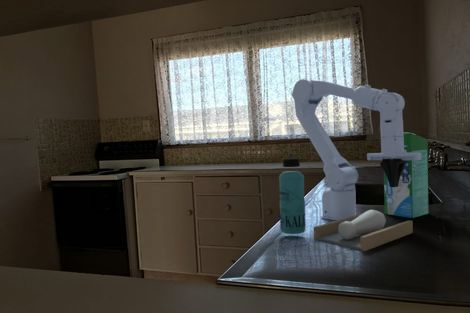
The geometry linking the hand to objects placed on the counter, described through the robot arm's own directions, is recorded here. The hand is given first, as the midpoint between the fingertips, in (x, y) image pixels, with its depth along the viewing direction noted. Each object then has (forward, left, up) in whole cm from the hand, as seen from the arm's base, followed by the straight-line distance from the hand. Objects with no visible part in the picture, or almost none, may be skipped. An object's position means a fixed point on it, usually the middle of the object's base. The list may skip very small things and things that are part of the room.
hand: (394, 186), depth 103 cm
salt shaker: (+2, -11, -7) cm, 13 cm away
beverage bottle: (-11, -28, -11) cm, 32 cm away
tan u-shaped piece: (+1, -16, -10) cm, 19 cm away
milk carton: (-4, +15, -11) cm, 19 cm away
